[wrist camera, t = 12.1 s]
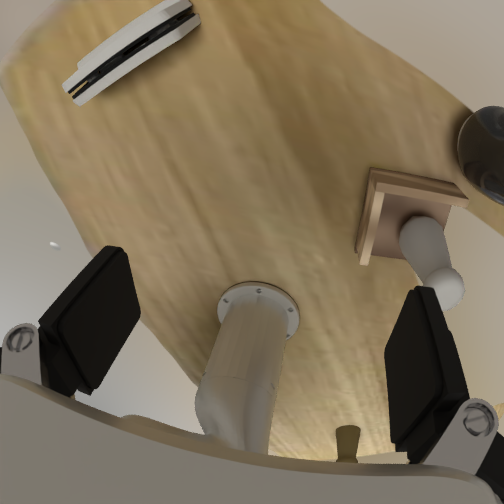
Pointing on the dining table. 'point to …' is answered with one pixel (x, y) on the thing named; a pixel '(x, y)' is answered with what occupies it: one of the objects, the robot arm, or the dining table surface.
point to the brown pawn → (347, 443)
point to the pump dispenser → (484, 152)
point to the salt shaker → (431, 259)
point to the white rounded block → (111, 50)
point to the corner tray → (400, 209)
